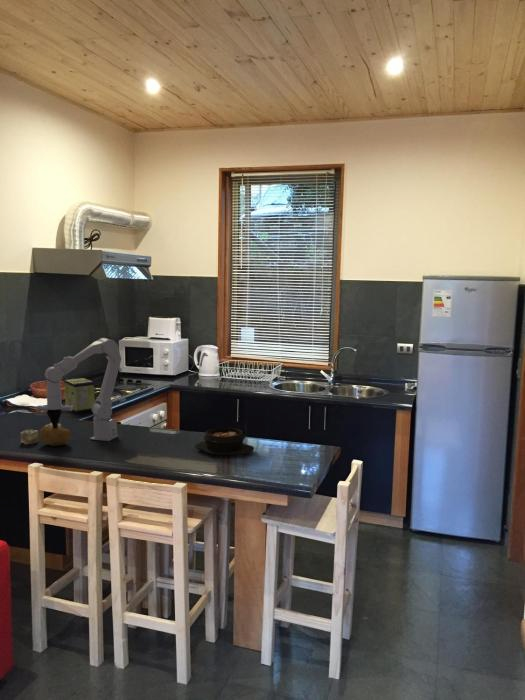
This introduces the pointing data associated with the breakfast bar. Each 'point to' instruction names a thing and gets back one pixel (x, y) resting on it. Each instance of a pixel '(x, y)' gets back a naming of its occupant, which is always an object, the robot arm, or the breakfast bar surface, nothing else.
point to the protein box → (79, 394)
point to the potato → (54, 435)
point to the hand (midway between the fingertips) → (55, 427)
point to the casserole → (224, 442)
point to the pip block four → (29, 436)
